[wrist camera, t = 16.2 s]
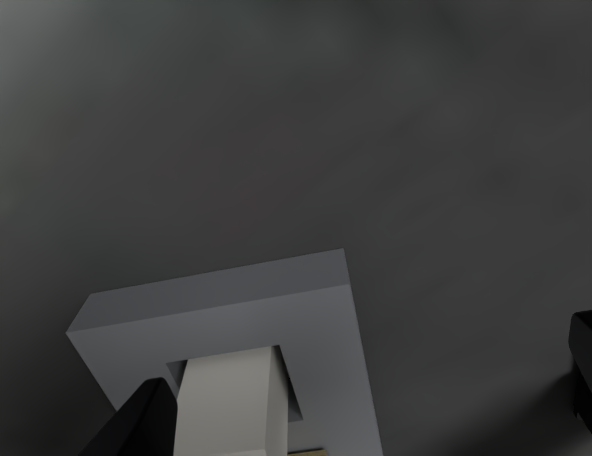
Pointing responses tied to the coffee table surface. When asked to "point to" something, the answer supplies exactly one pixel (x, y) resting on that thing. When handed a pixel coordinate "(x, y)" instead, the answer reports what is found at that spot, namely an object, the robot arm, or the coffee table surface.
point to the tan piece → (311, 453)
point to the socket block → (244, 341)
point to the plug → (234, 405)
